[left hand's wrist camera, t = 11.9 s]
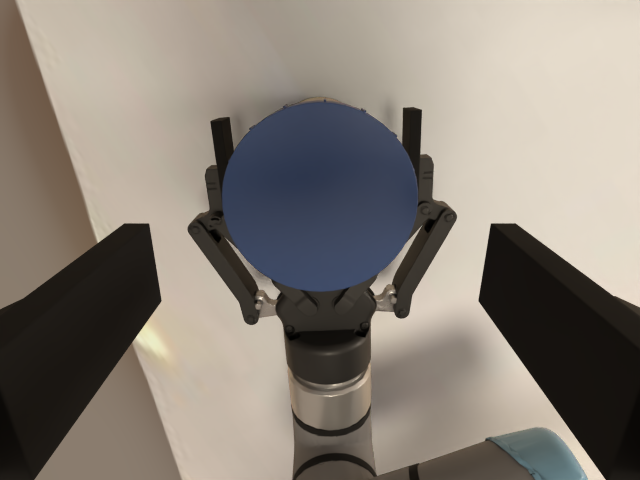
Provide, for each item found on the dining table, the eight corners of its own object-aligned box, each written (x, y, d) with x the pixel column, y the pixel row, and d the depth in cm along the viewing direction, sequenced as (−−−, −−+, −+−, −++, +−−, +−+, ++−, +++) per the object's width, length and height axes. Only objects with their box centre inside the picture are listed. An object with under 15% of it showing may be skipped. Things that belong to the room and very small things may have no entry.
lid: (216, 256, 22) (208, 269, 20) (246, 77, 19) (240, 77, 17) (379, 292, 23) (384, 308, 21) (436, 127, 19) (446, 131, 18)
